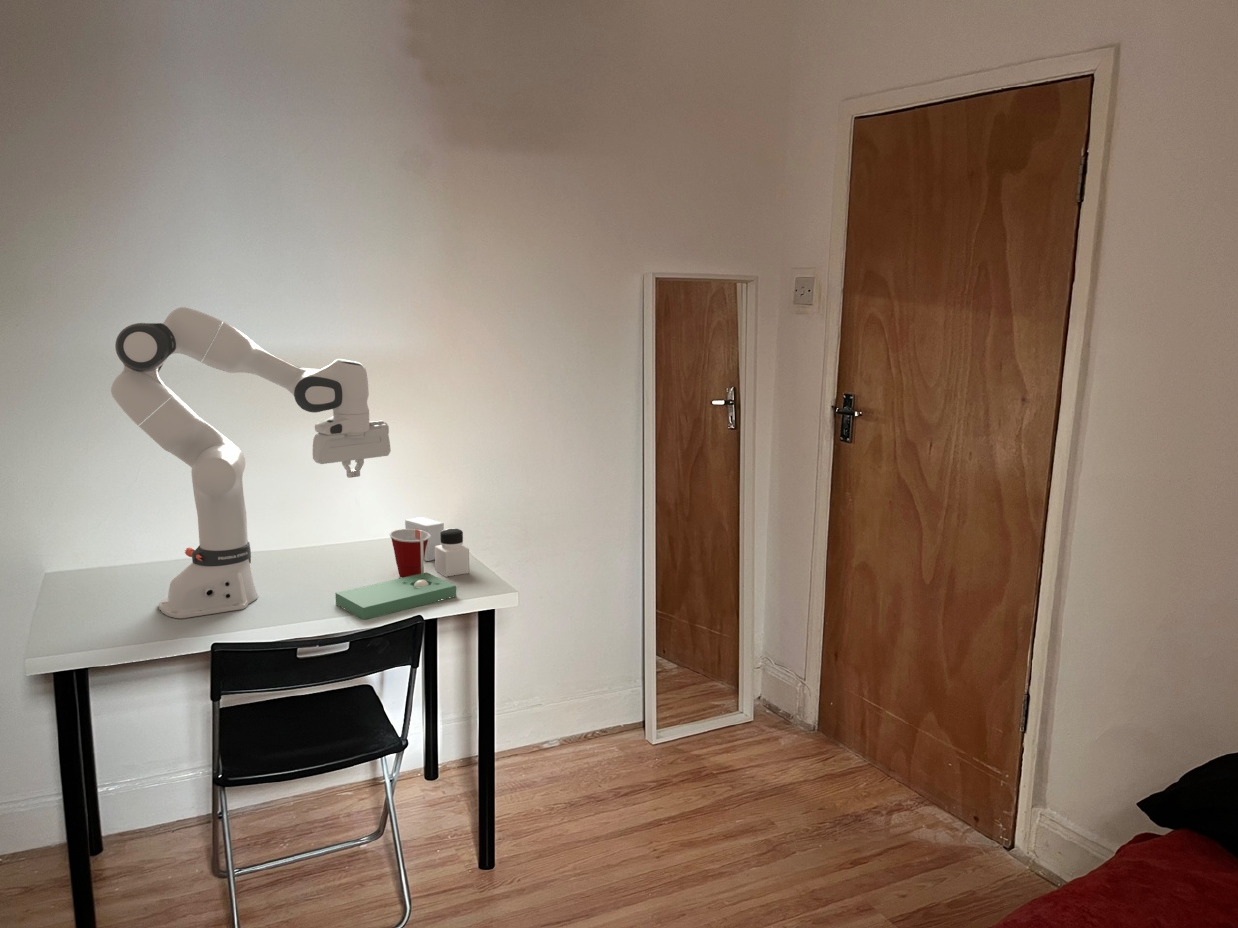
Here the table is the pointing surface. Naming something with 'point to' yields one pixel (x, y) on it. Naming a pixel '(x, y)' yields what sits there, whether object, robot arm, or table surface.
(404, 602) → the putting deck
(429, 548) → the skincare box
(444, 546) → the medicine bottle
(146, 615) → the table surface
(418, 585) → the ball
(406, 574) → the plastic cup
